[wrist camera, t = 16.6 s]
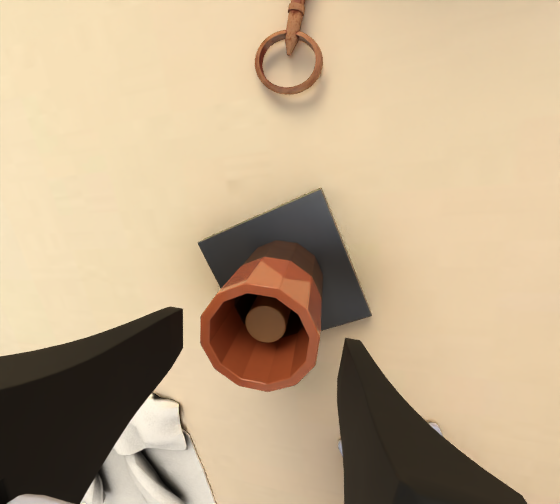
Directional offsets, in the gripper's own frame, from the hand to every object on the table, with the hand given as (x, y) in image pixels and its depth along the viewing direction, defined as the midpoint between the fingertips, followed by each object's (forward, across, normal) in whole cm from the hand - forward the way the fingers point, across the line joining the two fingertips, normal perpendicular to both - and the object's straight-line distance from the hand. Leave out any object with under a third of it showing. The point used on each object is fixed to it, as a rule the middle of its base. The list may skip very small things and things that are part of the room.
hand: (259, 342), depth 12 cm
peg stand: (+8, 0, 0) cm, 8 cm away
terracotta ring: (+4, 0, 0) cm, 4 cm away
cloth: (+9, +15, +24) cm, 29 cm away
